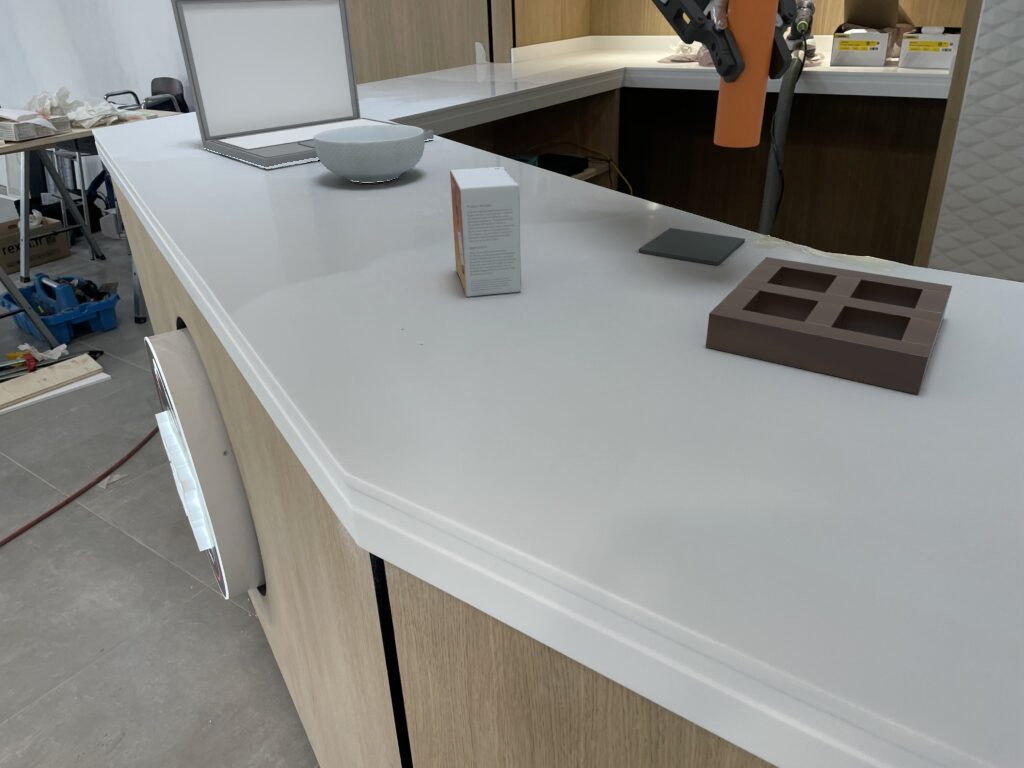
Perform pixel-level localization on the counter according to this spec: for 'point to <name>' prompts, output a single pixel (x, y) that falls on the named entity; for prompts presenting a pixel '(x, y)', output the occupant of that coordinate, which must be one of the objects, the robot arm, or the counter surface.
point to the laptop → (269, 75)
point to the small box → (486, 230)
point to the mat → (692, 246)
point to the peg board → (833, 322)
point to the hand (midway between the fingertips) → (759, 73)
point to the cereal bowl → (370, 151)
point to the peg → (746, 74)
